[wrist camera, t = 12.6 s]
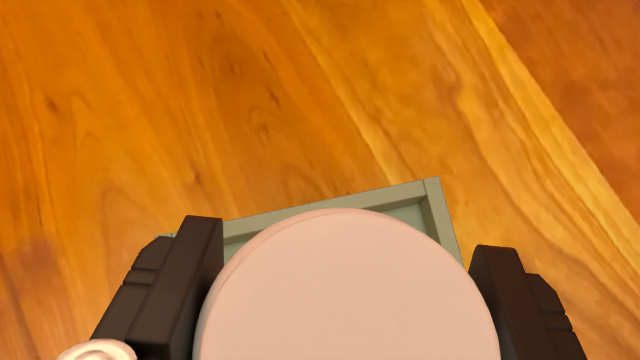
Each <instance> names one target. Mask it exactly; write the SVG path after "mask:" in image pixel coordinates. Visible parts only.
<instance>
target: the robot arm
mask: <svg viewBox="0 0 640 360" xmlns="http://www.w3.org/2000/svg"><path fill="white" fill-rule="evenodd" d="M223 268H224V237H223V221H222V219H221V218H213V217H202V216H192V215H187V216H186V217H185V218H184V220H183V222H182V224H181V226H180V228H179V230H178V232H177V234H176V236H175V237H168V236H158V237H157V238H156V239H155V240H153V241H152V242H151V243H149V244H148V245H147V246H145V247H144V248H143V249H141V251H140V253H139V254H138V256H137V258H136V260H135V261H134V263H133V265H132V266H131V270H129V272H128V273H127V275H126V277H125V279H124V280H123V285H121V286H120V287H119V289H118V291H117V292H116V294H115V296H114V298H113V299H112V301H111V303H110V305H109V306H108V308H107V310H106V311H105V313H104V315H103V317H102V318H101V320H100V322H99V324H98V325H97V327H96V329H95V331H94V332H93V334H92V336H91V337H90V339H89V341H85V342H82V343H79V344H77V345H75V346H73V347H71V348H69V349H67V350H66V351H64V352H63V353H62V354H61V355H59V356H58V357H57V358H56V359H55V360H192V351H193V342H194V335H195V330H196V325H197V321H198V318H199V314H200V311H201V308H202V305H203V303H204V301H205V298H206V296H207V294H208V292H209V290H210V288H211V286H212V284H213V283H214V281H215V279H216V278H217V276H218V274H219V273H220V272H221V270H222V269H223ZM468 274H469V276H470V277H471V278H472V280H473V281H474V283H475V285H476V286H477V288H478V290H479V292H480V293H481V295H482V297H483V299H484V301H485V303H486V305H487V308H488V310H489V312H490V314H491V317H492V320H493V323H494V326H495V329H496V333H497V336H498V341H499V348H500V355H501V360H587V358H586V355H585V353H584V351H583V349H582V347H581V345H580V342H579V340H578V338H577V336H576V334H575V332H573V331H572V329H573V327H572V325H571V323H570V321H569V319H568V317H567V315H565V310H564V308H563V306H562V304H561V301H560V299H559V297H558V295H557V293H556V291H555V290H554V289H553V288H552V287H551V286H550V285H549V284H548V283H547V282H546V281H545V280H544V279H543V278H542V277H541V276H540V275H539V274H531V273H525V270H524V268H523V265H522V263H521V261H520V258H519V256H518V253H517V251H516V250H515V249H514V248H509V247H499V246H489V245H477V246H476V248H475V250H474V253H473V256H472V260H471V264H470V267H469V271H468Z"/></svg>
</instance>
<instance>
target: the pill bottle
mask: <svg viewBox="0 0 640 360" xmlns="http://www.w3.org/2000/svg"><path fill="white" fill-rule="evenodd" d="M192 360H501V355H500V348H499V341H498V336H497V333H496V329H495V326H494V323H493V320H492V317H491V314H490V312H489V310H488V308H487V305H486V303H485V301H484V299H483V297H482V295H481V293H480V292H479V290H478V288H477V286H476V285H475V283H474V281H473V280H472V278H471V277H470V276H469V274H468V273H467V272H466V270H465V269H464V268H463V267H462V266H461V265H460V263H459V262H458V261H457V260H456V259H455V258H454V257H453V256H452V255H451V254H450V253H449V252H448V251H446V250H445V249H444V248H443V247H442V246H440V245H439V244H438V243H437V242H435V241H434V240H433V239H431V238H430V237H428V236H427V235H425V234H424V233H422V232H420V231H418V230H417V229H415V228H414V227H412V226H410V225H408V224H406V223H404V222H403V221H401V220H398V219H396V218H393V217H391V216H388V215H385V214H382V213H378V212H374V211H369V210H364V209H357V208H324V209H318V210H313V211H307V212H304V213H300V214H297V215H294V216H292V217H289V218H287V219H284V220H282V221H279V222H277V223H275V224H273V225H271V226H270V227H268V228H266V229H265V230H263V231H261V232H260V233H258V234H257V235H256V236H255V237H253V238H252V239H251V240H249V241H248V242H247V243H246V244H245V245H243V246H242V247H241V248H240V249H239V250H238V251H237V252H236V253H235V254H234V255H233V257H232V258H231V259H230V260H229V261H228V262H227V264H226V265H225V266H224V268H223V269H222V270H221V272H220V273H219V274H218V276H217V278H216V279H215V281H214V283H213V284H212V286H211V288H210V290H209V292H208V294H207V296H206V298H205V301H204V303H203V305H202V308H201V311H200V314H199V318H198V321H197V325H196V330H195V335H194V342H193V351H192Z"/></svg>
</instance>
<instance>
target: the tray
mask: <svg viewBox="0 0 640 360" xmlns="http://www.w3.org/2000/svg"><path fill="white" fill-rule="evenodd" d="M324 208H357V209H364V210H369V211H374V212H378V213H382V214H385V215H388V216H391V217H393V218H396V219H398V220H401V221H403V222H404V223H406V224H408V225H410V226H412V227H414V228H415V229H417V230H418V231H420V232H422V233H424V234H425V235H427V236H428V237H430V238H431V239H433V240H434V241H435V242H437V243H438V244H439V245H440V246H442V247H443V248H444V249H445V250H446V251H448V252H449V253H450V254H451V255H452V256H453V257H454V258H455V259H456V260H457V261H458V262H459V263H460V265H461V266H462V267H463V268H464V269H465V267H464V264H463V260H462V257H461V253H460V250H459V246H458V242H457V239H456V235H455V232H454V228H453V225H452V221H451V218H450V214H449V211H448V207H447V204H446V200H445V197H444V193H443V190H442V186H441V183H440V179H439V177H438V176H435V177H430V178H426V179H423V180H417V181H412V182H407V183H403V184H398V185H393V186H388V187H384V188H379V189H374V190H370V191H365V192H360V193H356V194H351V195H346V196H341V197H337V198H332V199H327V200H323V201H318V202H313V203H308V204H304V205H299V206H294V207H290V208H285V209H280V210H276V211H271V212H266V213H261V214H257V215H252V216H247V217H243V218H238V219H233V220H229V221H224V222H223V237H224V266H225V265H226V264H227V262H228V261H229V260H230V259H231V258H232V257H233V255H234V254H235V253H236V252H237V251H238V250H239V249H240V248H241V247H242V246H243V245H245V244H246V243H247V242H248V241H249V240H251V239H252V238H253V237H255V236H256V235H257V234H258V233H260V232H261V231H263V230H265V229H266V228H268V227H270V226H271V225H273V224H275V223H277V222H279V221H282V220H284V219H287V218H289V217H292V216H294V215H297V214H300V213H304V212H307V211H313V210H318V209H324ZM177 232H178V231H177ZM177 232H173V233H167V234H162V235H157V236H155V237H154V239H156V238H157V237H158V236H168V237H175V236H176V234H177Z"/></svg>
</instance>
